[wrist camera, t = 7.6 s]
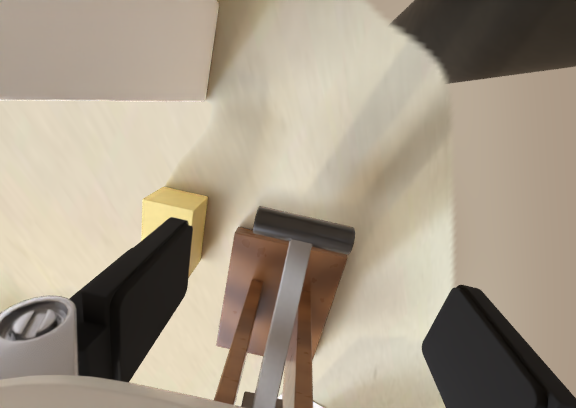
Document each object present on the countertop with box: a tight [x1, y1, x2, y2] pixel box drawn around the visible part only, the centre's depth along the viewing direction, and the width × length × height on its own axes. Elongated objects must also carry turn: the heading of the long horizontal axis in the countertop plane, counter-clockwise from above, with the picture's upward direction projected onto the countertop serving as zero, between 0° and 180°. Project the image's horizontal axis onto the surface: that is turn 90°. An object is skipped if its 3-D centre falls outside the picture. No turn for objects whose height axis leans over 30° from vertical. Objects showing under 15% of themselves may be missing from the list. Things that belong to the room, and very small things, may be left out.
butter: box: [141, 187, 208, 278], centre depth 21 cm, size 6×4×3 cm, turn 167°
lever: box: [241, 206, 355, 408], centre depth 14 cm, size 13×5×2 cm, turn 168°
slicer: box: [214, 227, 347, 408], centre depth 19 cm, size 12×9×13 cm
